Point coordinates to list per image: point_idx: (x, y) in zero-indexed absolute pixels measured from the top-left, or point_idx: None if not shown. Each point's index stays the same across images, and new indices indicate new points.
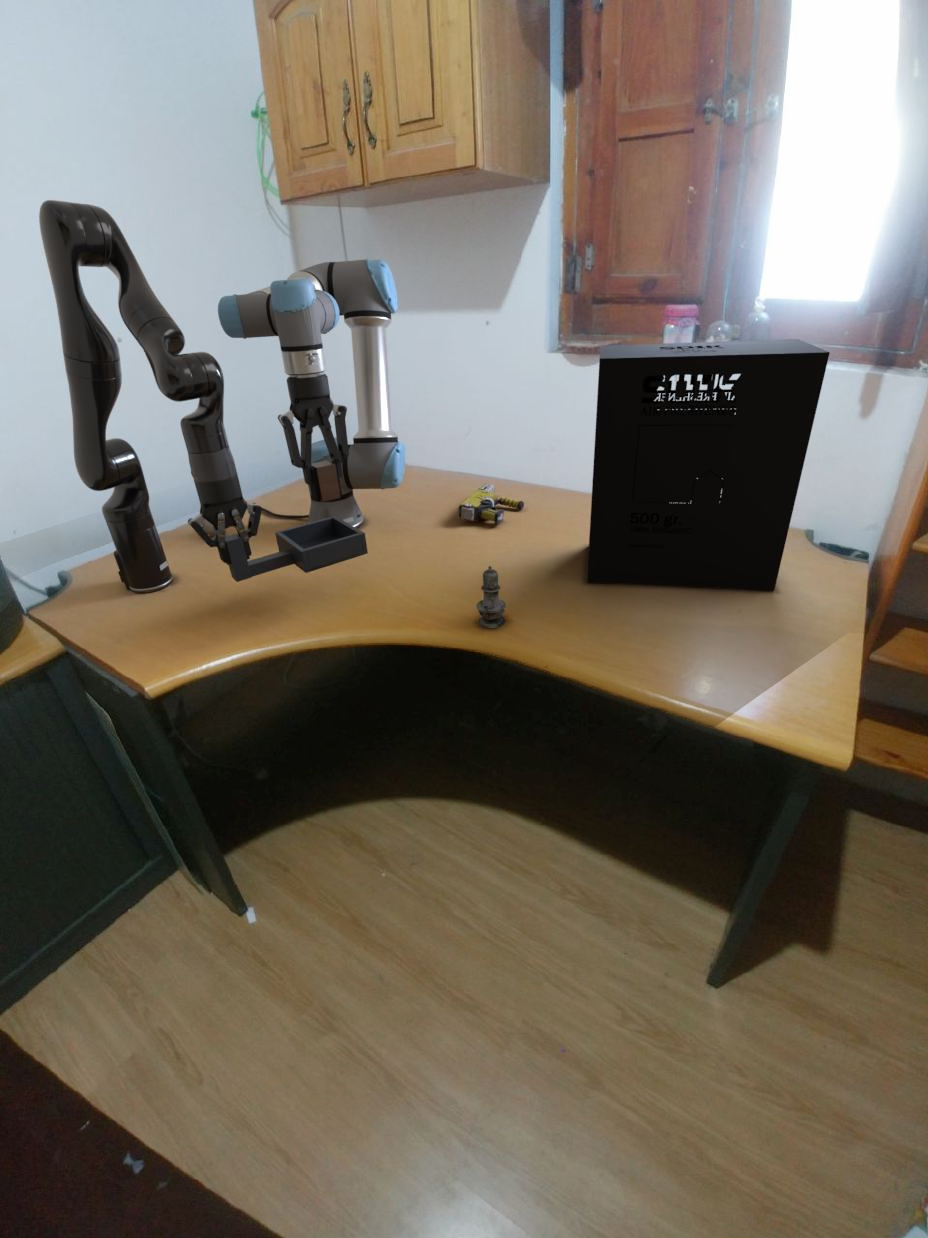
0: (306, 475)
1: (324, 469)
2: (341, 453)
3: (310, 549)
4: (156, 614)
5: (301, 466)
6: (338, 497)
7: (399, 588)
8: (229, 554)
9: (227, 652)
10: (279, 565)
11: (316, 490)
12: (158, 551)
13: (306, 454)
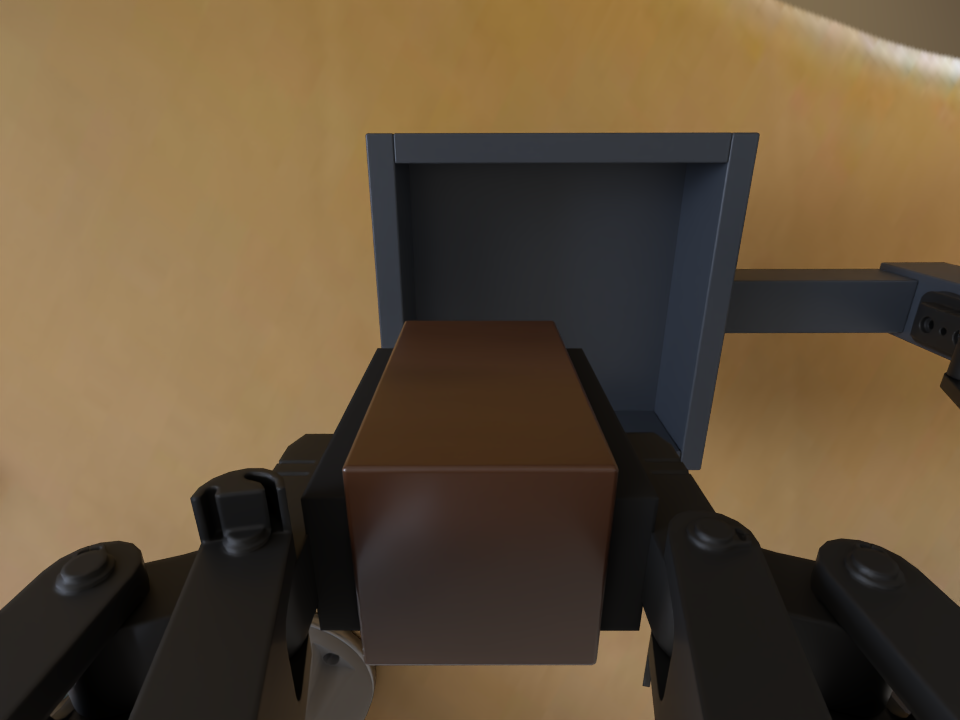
0: (696, 488)
1: (509, 442)
2: (146, 618)
3: (706, 133)
4: (937, 474)
5: (821, 547)
6: (420, 322)
7: (313, 122)
8: None
9: (955, 109)
10: (759, 271)
11: (593, 380)
12: (896, 698)
13: (801, 689)
